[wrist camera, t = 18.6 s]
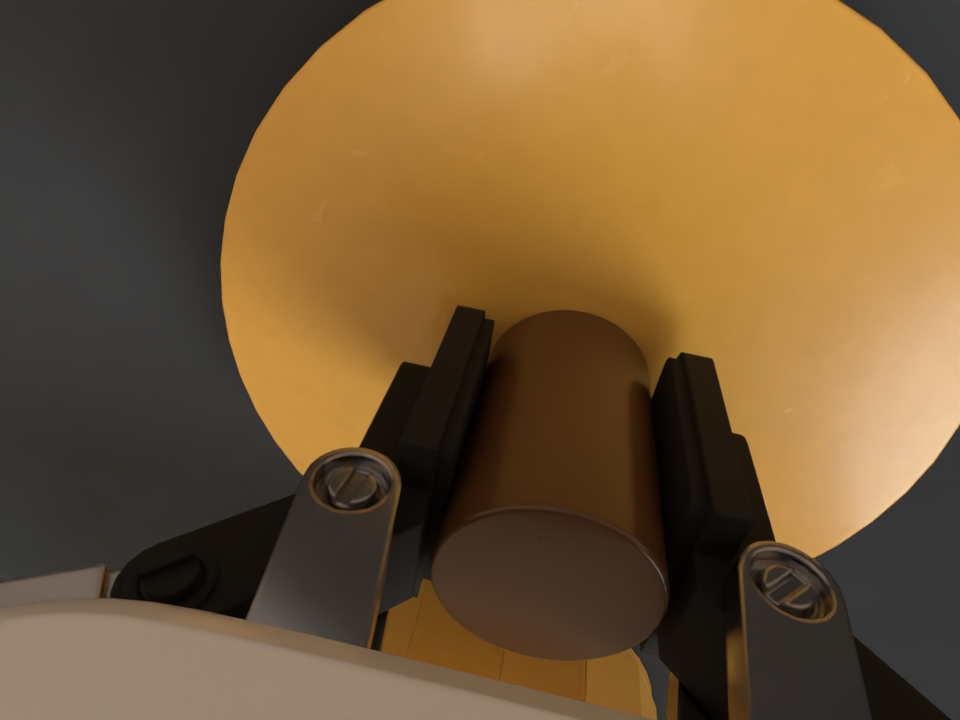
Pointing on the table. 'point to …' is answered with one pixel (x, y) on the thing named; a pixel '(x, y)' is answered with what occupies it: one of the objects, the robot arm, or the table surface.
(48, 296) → the table surface
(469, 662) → the tin
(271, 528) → the robot arm
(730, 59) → the tin lid
